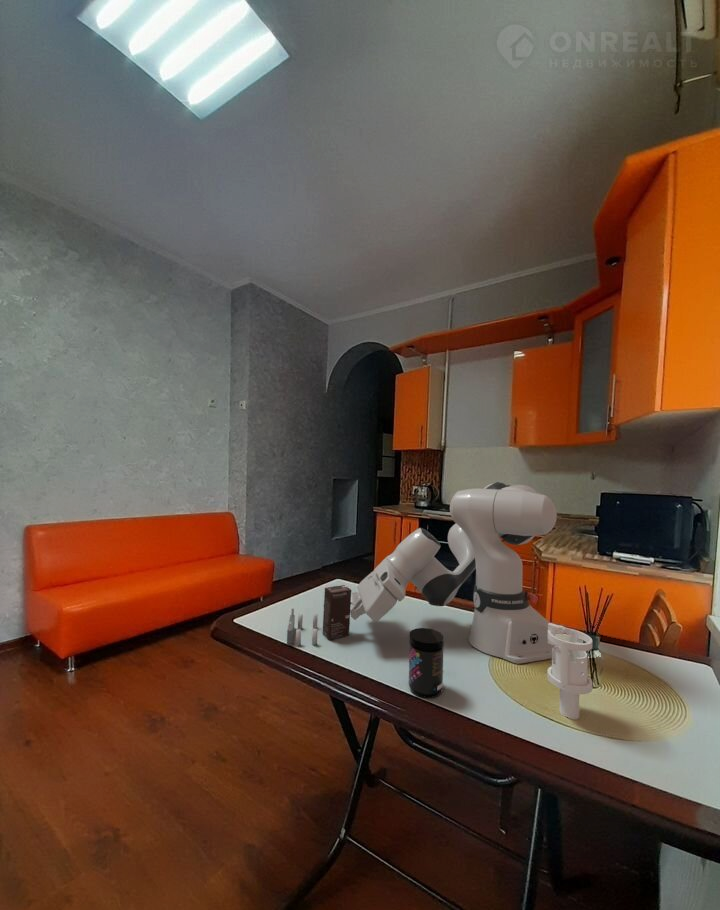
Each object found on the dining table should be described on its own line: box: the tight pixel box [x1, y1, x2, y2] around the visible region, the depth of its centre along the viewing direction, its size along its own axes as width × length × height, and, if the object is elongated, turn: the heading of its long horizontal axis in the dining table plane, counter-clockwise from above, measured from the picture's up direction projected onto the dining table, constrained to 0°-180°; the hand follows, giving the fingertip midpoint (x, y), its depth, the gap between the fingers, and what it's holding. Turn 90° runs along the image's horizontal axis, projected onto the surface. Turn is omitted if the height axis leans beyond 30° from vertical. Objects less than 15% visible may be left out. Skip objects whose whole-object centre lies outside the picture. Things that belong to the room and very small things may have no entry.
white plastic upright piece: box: [546, 622, 593, 720], centre depth 65 cm, size 7×7×15 cm
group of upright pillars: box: [286, 607, 319, 647], centre depth 92 cm, size 7×10×5 cm
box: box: [322, 584, 352, 641], centre depth 93 cm, size 6×4×12 cm
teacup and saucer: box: [350, 591, 360, 610], centre depth 115 cm, size 9×8×4 cm
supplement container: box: [408, 627, 445, 699], centre depth 71 cm, size 7×7×10 cm
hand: (352, 615), depth 94 cm, fingers closed
